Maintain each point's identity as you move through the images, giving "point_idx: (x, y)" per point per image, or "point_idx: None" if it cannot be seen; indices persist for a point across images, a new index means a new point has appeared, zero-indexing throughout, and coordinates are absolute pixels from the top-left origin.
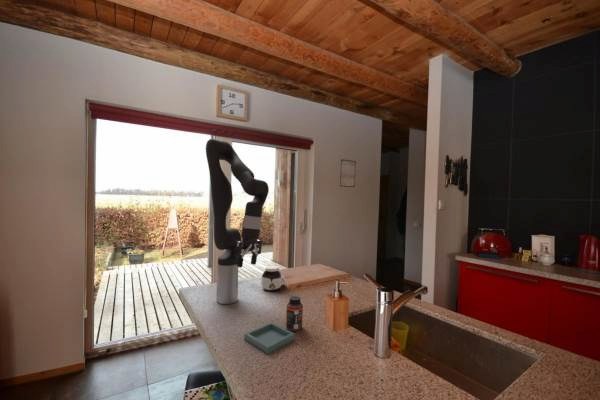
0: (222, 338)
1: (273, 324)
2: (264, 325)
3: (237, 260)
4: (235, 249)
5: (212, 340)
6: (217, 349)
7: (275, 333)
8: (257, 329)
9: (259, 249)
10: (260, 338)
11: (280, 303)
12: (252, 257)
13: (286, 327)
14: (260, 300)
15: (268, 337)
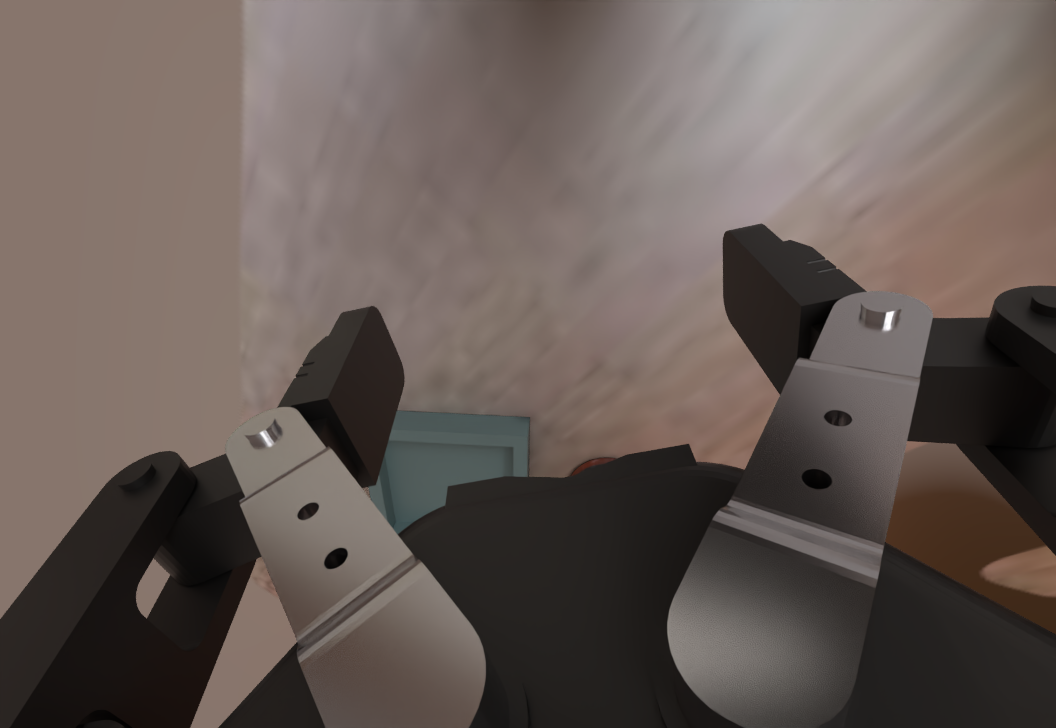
0: (288, 332)
1: (518, 457)
2: (477, 436)
3: (286, 397)
4: (24, 624)
5: (240, 314)
6: (241, 387)
7: (497, 472)
8: (426, 440)
9: (1034, 522)
10: (420, 458)
11: (858, 223)
12: (775, 309)
13: (576, 469)
14: (830, 31)
15: (452, 473)
